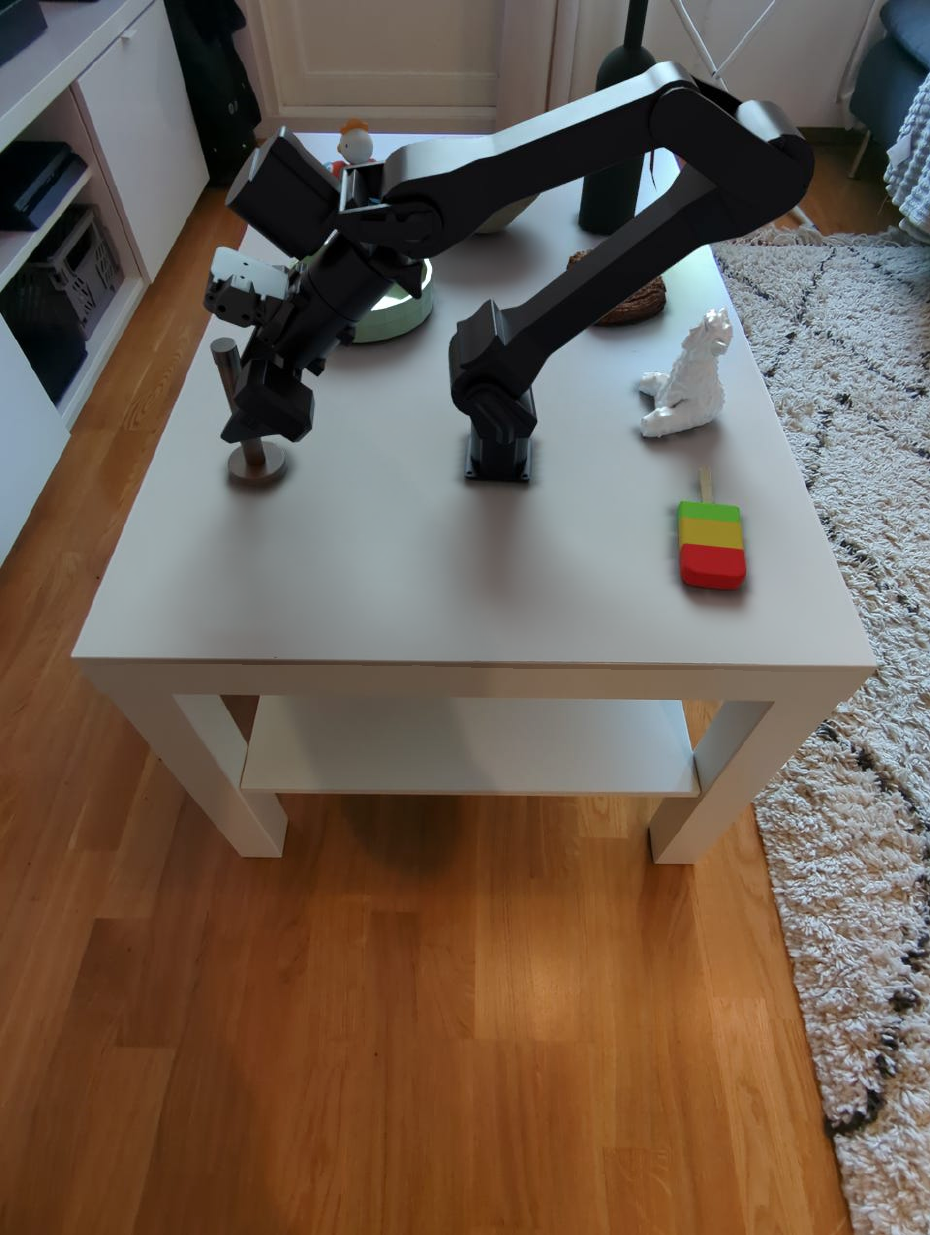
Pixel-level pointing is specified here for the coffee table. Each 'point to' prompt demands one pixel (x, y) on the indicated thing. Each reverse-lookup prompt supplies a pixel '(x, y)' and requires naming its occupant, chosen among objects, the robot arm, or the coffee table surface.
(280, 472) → the paper towel holder
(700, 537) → the popsicle
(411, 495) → the coffee table surface
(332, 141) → the coffee table surface
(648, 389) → the sitting furry creature
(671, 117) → the robot arm
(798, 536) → the coffee table surface
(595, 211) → the wine bottle
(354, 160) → the toy car
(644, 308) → the pastry
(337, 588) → the coffee table surface
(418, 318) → the green round dish
